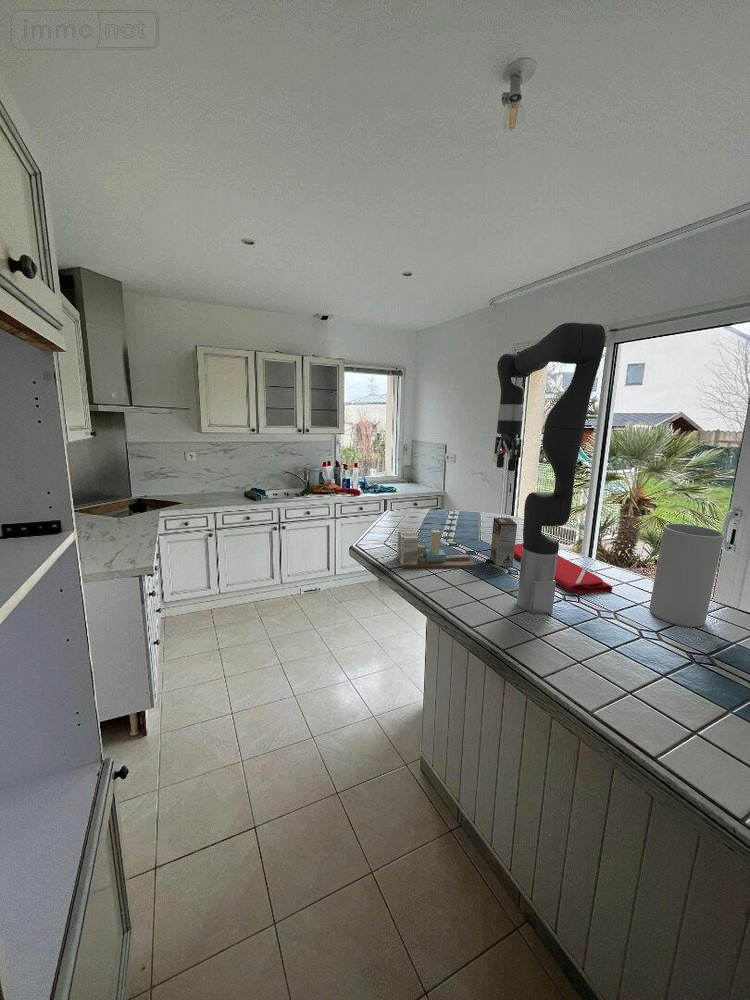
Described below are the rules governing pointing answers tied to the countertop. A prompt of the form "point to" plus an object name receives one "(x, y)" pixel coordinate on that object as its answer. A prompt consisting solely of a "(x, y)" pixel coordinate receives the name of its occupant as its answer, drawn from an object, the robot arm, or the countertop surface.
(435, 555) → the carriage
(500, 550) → the coffee box
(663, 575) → the cylinder vase
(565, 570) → the folded red towel
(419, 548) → the button
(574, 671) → the countertop surface
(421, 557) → the rail bench
